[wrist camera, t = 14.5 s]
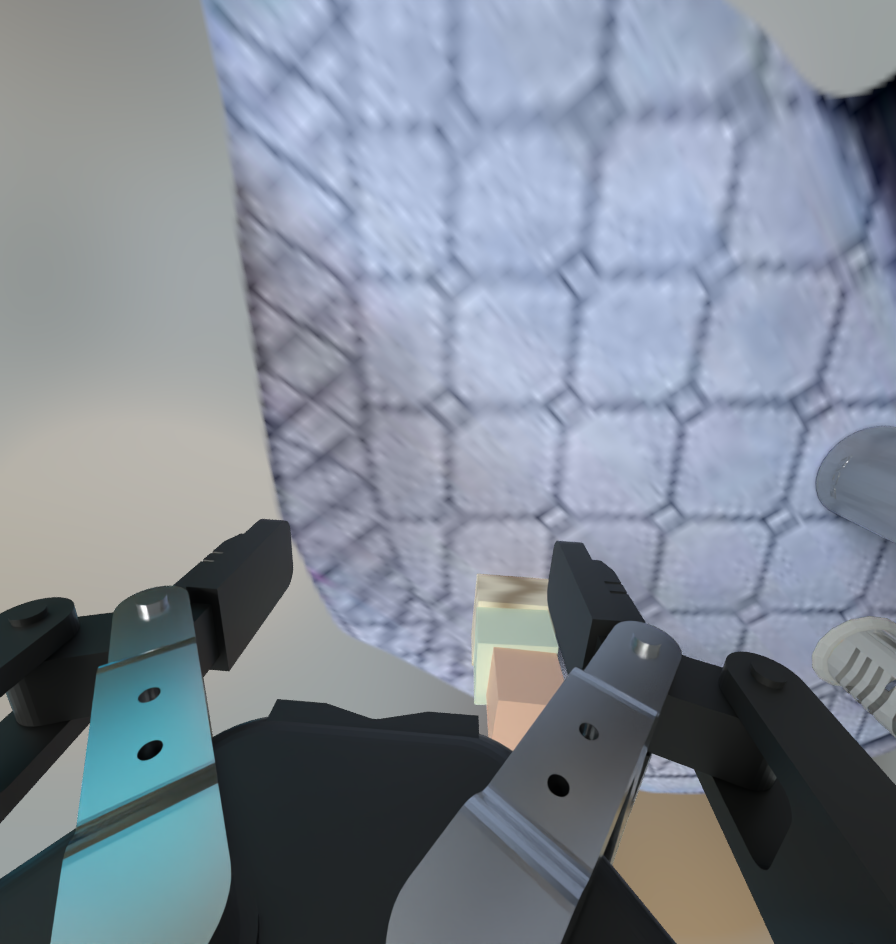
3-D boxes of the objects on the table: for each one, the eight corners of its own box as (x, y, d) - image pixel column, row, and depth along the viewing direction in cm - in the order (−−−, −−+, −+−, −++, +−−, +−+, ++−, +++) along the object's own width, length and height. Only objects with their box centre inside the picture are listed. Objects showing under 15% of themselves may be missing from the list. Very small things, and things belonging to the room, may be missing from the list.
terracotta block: (556, 653, 36) (571, 707, 31) (545, 701, 38) (558, 760, 32) (493, 646, 36) (498, 700, 31) (486, 694, 38) (489, 753, 32)
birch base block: (550, 578, 45) (559, 607, 40) (540, 637, 48) (548, 671, 43) (476, 572, 45) (478, 600, 40) (471, 632, 48) (471, 665, 43)
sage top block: (547, 610, 40) (558, 647, 36) (541, 666, 43) (550, 708, 38) (476, 606, 41) (477, 643, 36) (473, 663, 43) (474, 704, 38)
